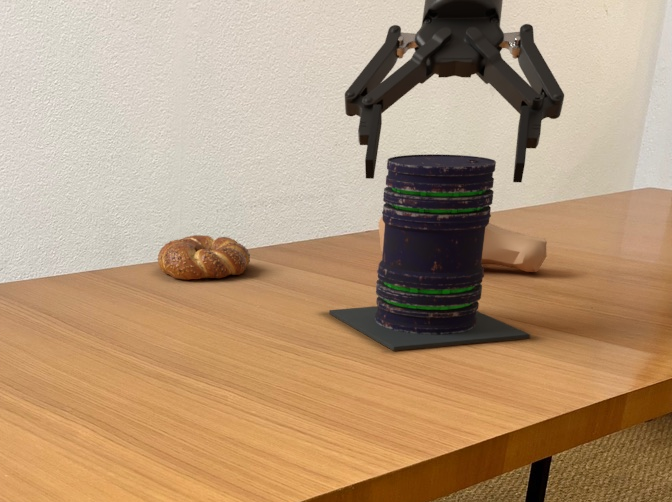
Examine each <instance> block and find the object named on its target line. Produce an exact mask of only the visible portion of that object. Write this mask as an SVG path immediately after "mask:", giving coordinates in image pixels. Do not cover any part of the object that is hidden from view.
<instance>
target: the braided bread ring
mask: <svg viewBox="0 0 672 502" xmlns="http://www.w3.org/2000/svg"><path fill="white" fill-rule="evenodd" d="M250 262H251V254H250V253H249V250H248V249H247V248H246V246H244V245H243V244H241V243H239V242H238V241H237V240H235V239H234V238H231V237H228V236H220V237H217V238H216V239H214V238H212V236H209V235H201V234H199V235H197V234H193V235H190V236H185V237H182V238H180V239H178V238H177V239H174V240H170V241H169V242H166V243H165V244H164V245H163V246H162V247H161V249H160V250H159V252H158V255H157V263H158V267H159V268H160V270H161V271H162V272H163V273H164V274H165V275H169V276H170V277H172V278H174V279H179V280H185V281H187V280H188V281H190V280H198V279H209V278H211V279H222V278H226V277H227V276H230V275H231V276H238V275H241V274H243V273H244V271H246V269H247V267H248V265H249V264H250Z"/></svg>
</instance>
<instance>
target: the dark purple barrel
mask: <svg viewBox="0 0 672 502" xmlns="http://www.w3.org/2000/svg"><path fill="white" fill-rule="evenodd" d="M386 161H387V163H386V169H387V174H386V176H385V186H386V187H384V188H383V198H382V201H383V202H384V203H383V207H382V208H383V209H382V212H381V215H382V214H383V218H382V220H383V222H384V223H385V230H384V242H383V253H382V254H381V257H382V258H381V259H382V260H380V262H379V263H378V268H377V270H376V274H377V280H376V285H375V295H376V296H377V297H376V300H375V301H376V306H378V308H377V311H376V314H375V321H376V322H377V323H378V324H379V325H381V326H383V327H386V328H389V329H392V330H396V331H401V332H407V333H415V334H433V335H437V334H454V333H461V332H465V331H469V330H471V329H473V328H474V327H475V326H476V323H477V317H476V311H478V309H479V305H480V303H479V301H480V300H481V299H482V292H483V285H482V283H483V278H484V277H485V274H484V271H485V270H484V269H485V268H484V267H483V265H481V260H482V252H483V244H484V235H485V227H486V226H487V225H488V224H489V223H490V218H491V217H492V215H491V212H492V211H491V209H492V207H491V205H492V204H493V200H494V190H493V187H494V181H495V179H494V177H493V176H494V172H496V164H497V161H496V160H495V159H492V158H488V157H483V156H475V155H465V154H464V155H463V154H407V155H398V156H392V157H389V158H387V160H386Z"/></svg>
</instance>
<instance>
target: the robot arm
mask: <svg viewBox="0 0 672 502" xmlns="http://www.w3.org/2000/svg"><path fill="white" fill-rule="evenodd" d="M503 3H504V1H503V0H424V5H423V14H422V21H421V27H419V29H418V31H416V33H415V32H411V33H410V32H402V27H401V25H398V24H393V25H390V27H389V28H388V30H387V34H386V36H385V40H384V43H382V45H381V47H380V48H379V49H378V50H377V52H376V53H375V54H374V56H373V57H372V58H371V59H370V60H369V62H368V63H367V64H366V65H365V67H364V68H363V70H362V71H360V73H359V74H358V76H357V77H356V78H355V79H354V81H353V82H352V83H351V84H350V86H349V87H348V88H347V89H346V91H345V93H344V110H345V111H344V112H345V115H346V116H347V117H354V116H358V117H359V124H358V129H357V135H358V137H357V139H358V143H359V146H366V152H365V157H364V159H365V160H364V164H365V165H364V167H365V168H364V169H365V179H369V180H371V179H372V180H373V179H374V178H375V173H376V166H377V159H378V158H377V157H378V151H379V144H380V139H381V132H382V124H383V123H382V121H383V120H382V119H383V117H382V115H383V113H385V111H387V110H388V109H389V108H391V107H392V106H393V105H394V104H395V103H397V101H399V100H400V99H401V98H403V97H404V96H405V95H407V93H409V92H410V91H411V90H413V89H414V88H415V87H416V86H417V85H419V84H421V85H422V84H424V83H425V82H427V81H428V80H429V79H431V77H433V76H434V75H438V78H451V77H459V78H472V76H473V75H476V76H477V77H478V78H479V79H480V80H481V81H482V82H483V83H484V84H486V85H488V84H489V85H490V86H491V87H492V88H493V89H494V90H495V91H496V92H497V93H498V94H499V95H500V96H501V97H502V98H503V99H504V100H505V101H506V102H508V104H509V105H510V106H511V107H512V108H513V109H514V110H515V111H516V112H517V113H518V114H519V120H518V125H517V126H518V127H517V137H516V146H515V147H516V148H515V157H514V166H513V167H514V168H513V178H512V182H513V183H522V182H523V177H524V176H523V175H524V171H525V166H526V157H527V155H526V154H527V149H537V147H538V145H539V144H540V138H541V131H542V121H543V120H545V119H546V118H549V119H551V120H556V119H558V118H560V116H561V113H562V109H563V104H564V100H565V92H564V91H563V90H562V88H561V86H560V84H559V82H558V81H557V79H556V78H555V76H554V74H553V72H552V71H551V69H550V66H549V65H548V64H547V62H546V60H545V58H544V56H543V54H542V53H541V51H540V50H539V48H538V46H537V45H536V43H535V38H534V37H535V36H534V27H533V25H532V24H530V23H525V24H522V25H521V26H520V28H519V31H513V32H504V31H503V30H502V28H501V18H502V10H503ZM411 49H414V52H413V54H412V56H411V58H410V59H409V60H407V61H406V62H405V63H404V64H403V65H401V66H400V67H399V68H398V69H396V70H395V71H394V72H393V73H391V74H390V75H389V76H388V74H389V73H390V72H391V71H392V70H393V69H394V67H395V65H396V63H397V61H398V59H399V60H400V59H403V58H404V55H406V53H407V52H408V51H410V50H411ZM503 49H506V50H508V51H509V54H511V55H512V58H513V59H517V62H518V66H519V67H520V69H521V72H522V73H523V75H524V77H525V79H526V80H525V79H524V78H523V77H522V76H521V75H520V74H519V73H518V72H517V71H516V70H515V69H514V68H513V67H512V66H511V65H510V64H509V63H508V62H506V60H504V59H503V57H502V54H501V51H502V50H503ZM386 77H387V78H386Z"/></svg>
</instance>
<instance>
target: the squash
mask: <svg viewBox="0 0 672 502" xmlns="http://www.w3.org/2000/svg"><path fill="white" fill-rule="evenodd" d="M382 218H383V214H382V213H381V216H380V218H379V220H378V232H379V233H378V234H379V243H380V253H382V254H383V242H384V230H385V223H384V222H383V220H382ZM547 243H548V241H547V239H546V237H540V236H535V235H529V234H524V233H521V232H518V231H514V230H510V229H507V228H503V227H501V226H498V225H496V224H493V223H491V222H489V224H488V225H487V226H486V227H485V235H484V244H483V252H482V260H481V265H482V266H483V265H493V266H494V265H495V266H502V267H506V268H513V269H517V270H520V271H524V272H526V273H529V272H531V273H537V272H538V271H539V269H540V268H541V266H542V265H543V263H544V261H545V260H546V258H547V255H548V254H547Z"/></svg>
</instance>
